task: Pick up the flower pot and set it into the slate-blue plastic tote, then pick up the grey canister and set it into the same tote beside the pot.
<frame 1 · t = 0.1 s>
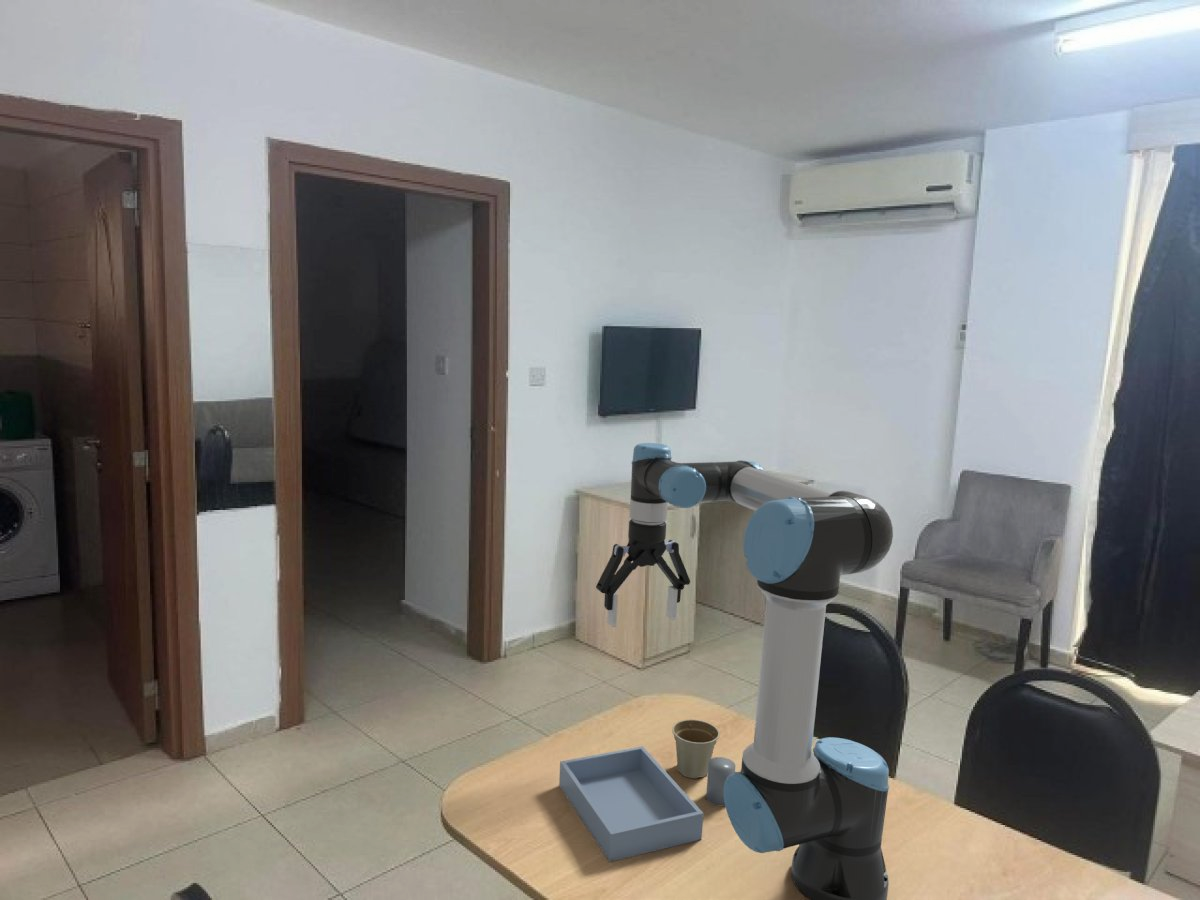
hand: (641, 621, 169), 28 cm above the table, fingers open, 13 cm apart
tote: (626, 811, 151), on the table
canister: (719, 798, 156), on the table
flower pot: (692, 771, 166), on the table
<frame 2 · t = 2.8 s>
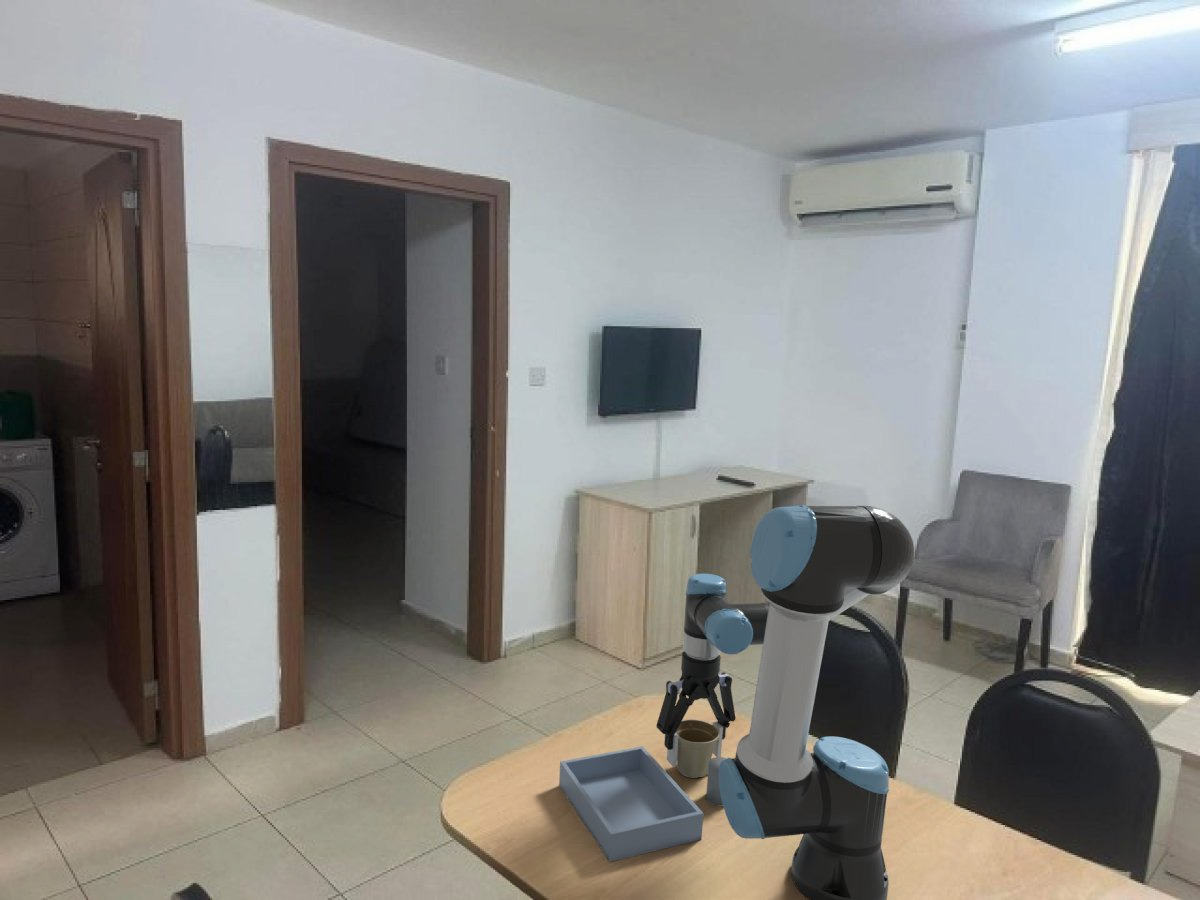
hand: (693, 758, 165), 3 cm above the table, fingers closed on flower pot, 9 cm apart
flower pot: (692, 771, 166), on the table, touching gripper
everything else where it was.
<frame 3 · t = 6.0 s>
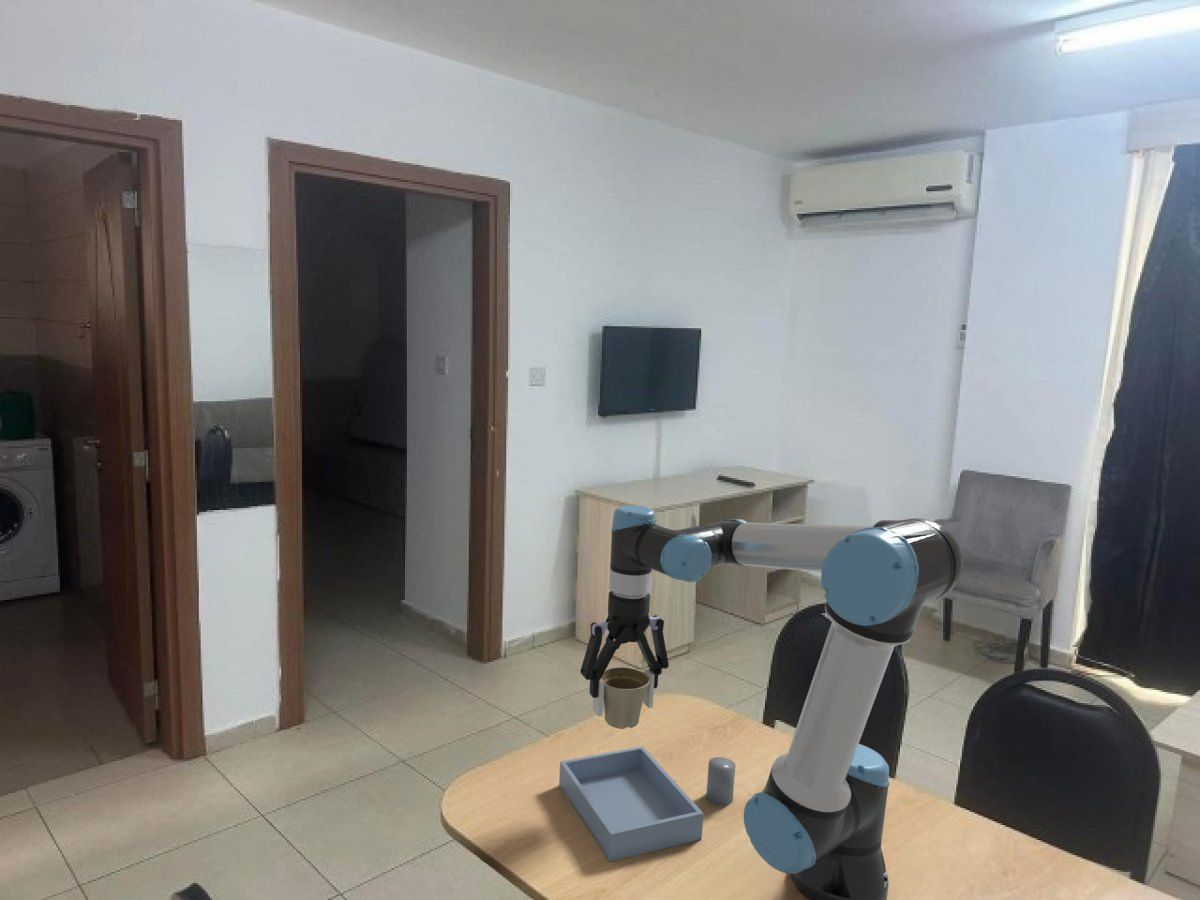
hand: (622, 708, 152), 18 cm above the table, fingers closed on flower pot, 9 cm apart
flower pot: (621, 722, 152), point 15 cm above the table, touching gripper
everything else where it was.
when the fingers open (4 cm above the table, at t = 9.0 s): flower pot stays where it is, resting on tote.
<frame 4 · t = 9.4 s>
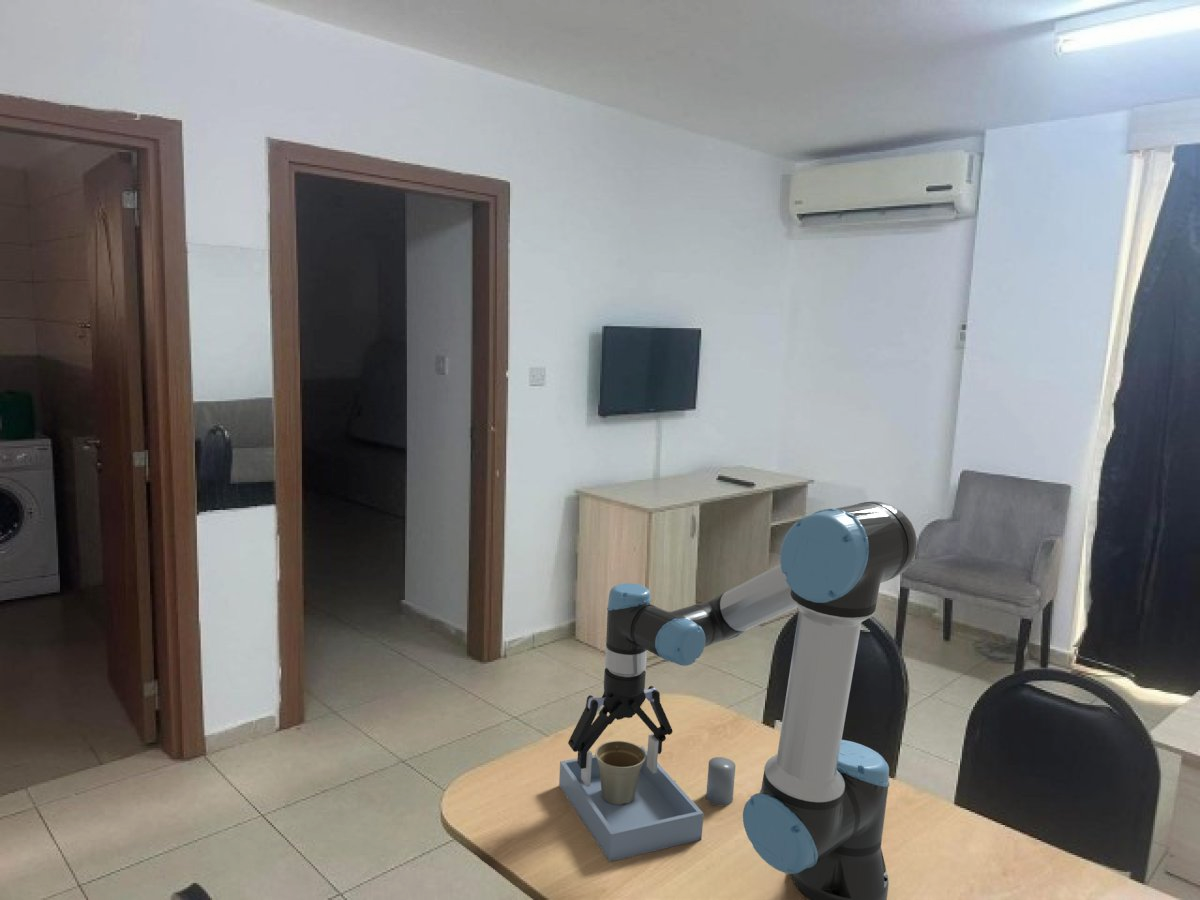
hand: (619, 776, 154), 5 cm above the table, fingers open, 13 cm apart
flower pot: (618, 797, 154), resting on tote
everything else where it was.
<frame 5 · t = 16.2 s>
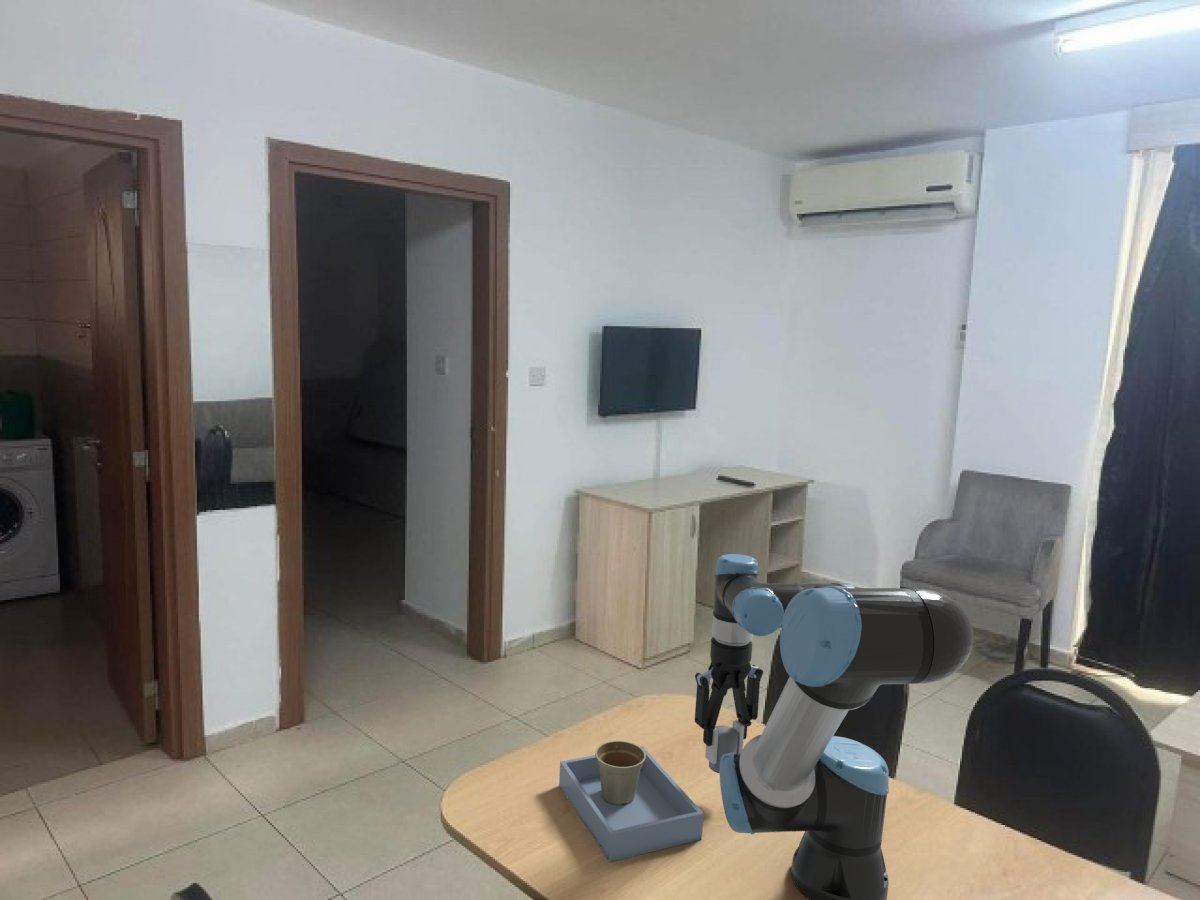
hand: (723, 757, 154), 9 cm above the table, fingers closed on canister, 5 cm apart
canister: (722, 766, 155), point 7 cm above the table, touching gripper
everything else where it was.
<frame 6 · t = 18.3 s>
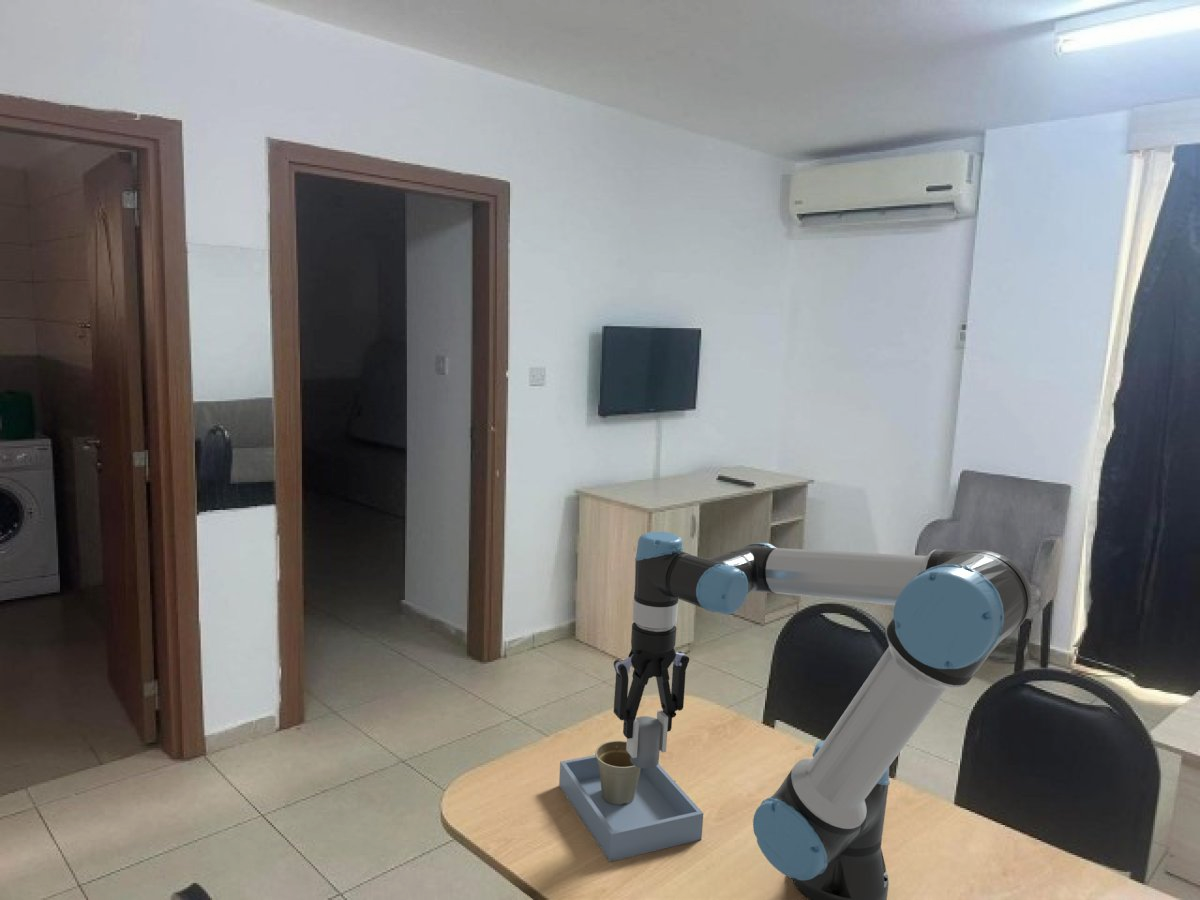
hand: (646, 750, 143), 15 cm above the table, fingers closed on canister, 5 cm apart
canister: (644, 760, 144), point 13 cm above the table, touching gripper
everything else where it was.
when the fingers open (2 cm above the table, at t = 20.8 s): canister stays where it is, resting on tote.
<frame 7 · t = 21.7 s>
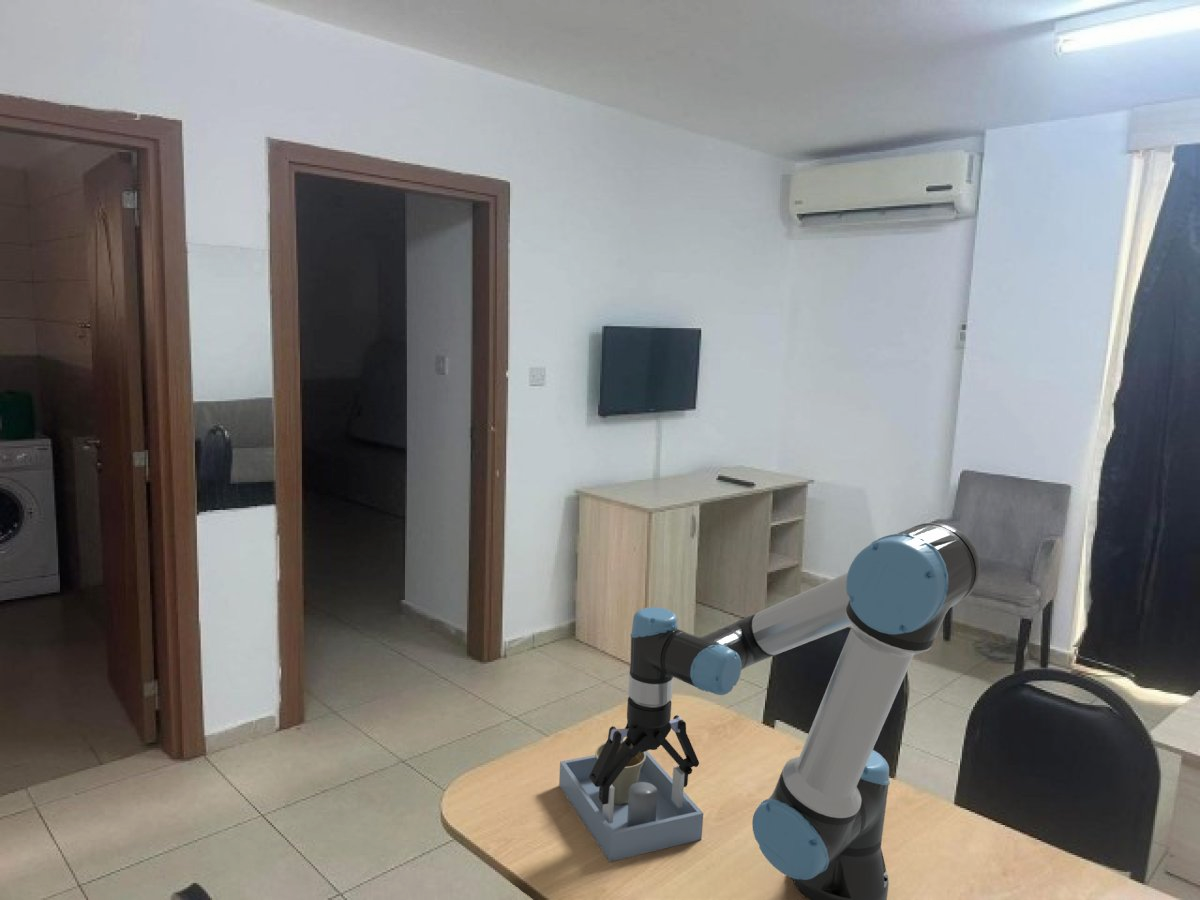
hand: (642, 811, 145), 4 cm above the table, fingers open, 13 cm apart
canister: (641, 826, 146), point 1 cm above the table, touching tote
everything else where it was.
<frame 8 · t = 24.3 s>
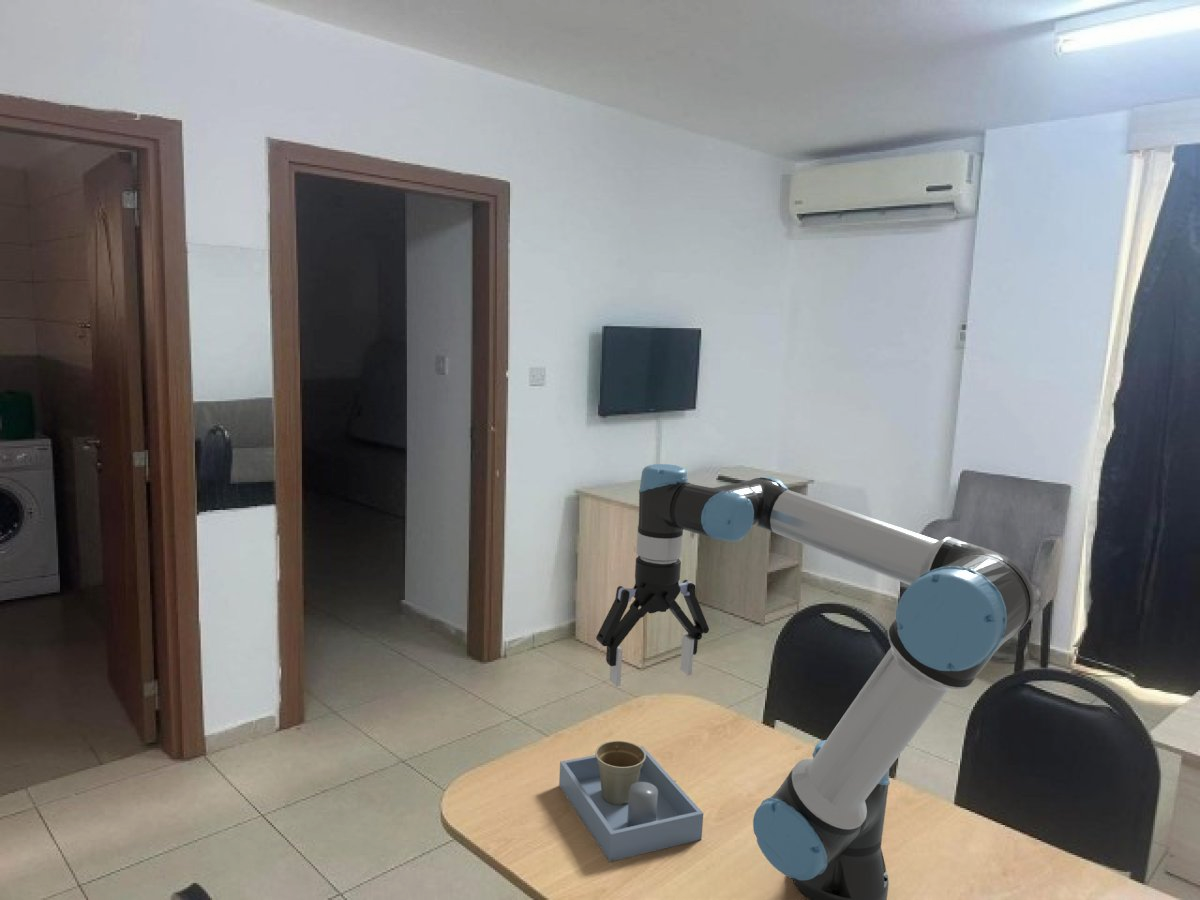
hand: (651, 677, 141), 29 cm above the table, fingers open, 13 cm apart
nothing on the table moved.
at the end: flower pot inside the target area on the tote (4.0 cm from its centre), point 0.4 cm above the tote's base; canister inside the target area on the tote (5.7 cm from its centre), point 0.6 cm above the tote's base; canister tilted 1° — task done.
